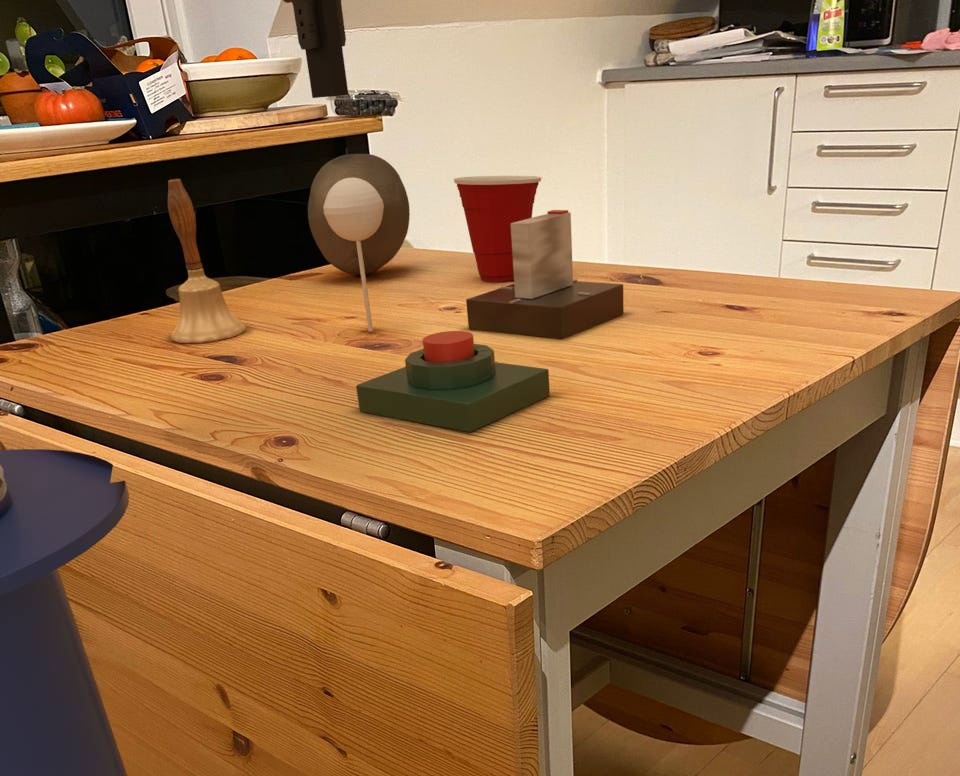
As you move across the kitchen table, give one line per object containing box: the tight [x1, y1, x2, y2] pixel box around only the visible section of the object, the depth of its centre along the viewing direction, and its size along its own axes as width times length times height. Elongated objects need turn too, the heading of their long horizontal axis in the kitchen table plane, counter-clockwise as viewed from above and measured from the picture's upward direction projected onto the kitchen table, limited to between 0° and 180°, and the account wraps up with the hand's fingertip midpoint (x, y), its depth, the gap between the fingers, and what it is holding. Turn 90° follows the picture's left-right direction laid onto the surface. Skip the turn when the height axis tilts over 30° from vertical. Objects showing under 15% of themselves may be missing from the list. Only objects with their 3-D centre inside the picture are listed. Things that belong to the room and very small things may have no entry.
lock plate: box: [465, 278, 625, 340], centre depth 101 cm, size 12×11×3 cm
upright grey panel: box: [511, 209, 574, 299], centre depth 99 cm, size 7×2×7 cm, turn 140°
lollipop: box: [324, 178, 384, 333], centre depth 101 cm, size 6×6×15 cm
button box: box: [355, 343, 551, 433], centre depth 79 cm, size 12×10×4 cm
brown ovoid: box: [307, 153, 411, 276], centre depth 131 cm, size 14×14×15 cm
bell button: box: [422, 330, 475, 363], centre depth 78 cm, size 4×4×2 cm
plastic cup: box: [453, 175, 543, 283], centre depth 122 cm, size 11×11×12 cm
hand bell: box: [167, 178, 247, 344], centre depth 107 cm, size 8×8×16 cm
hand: (330, 96), depth 79 cm, fingers closed
